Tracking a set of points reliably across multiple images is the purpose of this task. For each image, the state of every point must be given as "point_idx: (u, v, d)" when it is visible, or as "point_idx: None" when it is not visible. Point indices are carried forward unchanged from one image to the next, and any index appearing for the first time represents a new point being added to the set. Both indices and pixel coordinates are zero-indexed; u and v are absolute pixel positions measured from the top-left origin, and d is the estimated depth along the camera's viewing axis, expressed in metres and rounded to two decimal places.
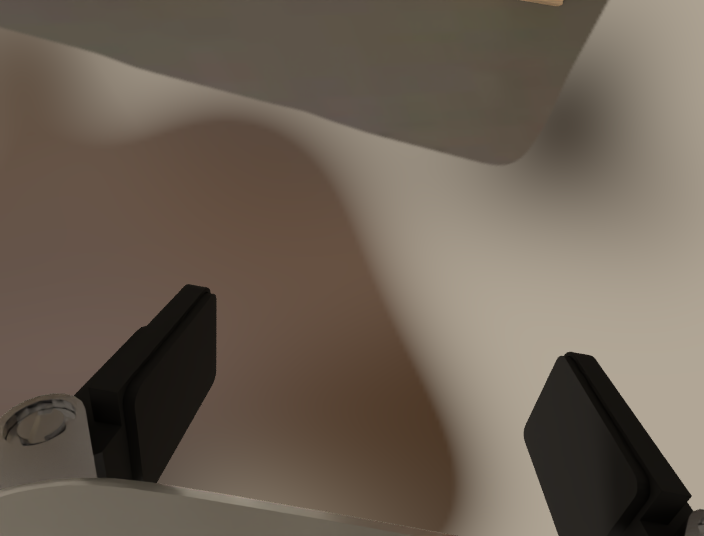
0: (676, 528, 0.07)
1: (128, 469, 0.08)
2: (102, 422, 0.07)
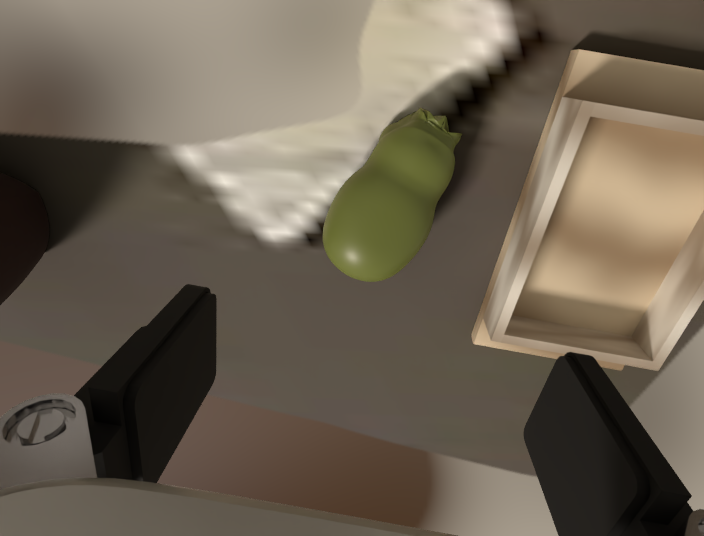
0: (676, 528, 0.07)
1: (128, 469, 0.08)
2: (102, 422, 0.07)
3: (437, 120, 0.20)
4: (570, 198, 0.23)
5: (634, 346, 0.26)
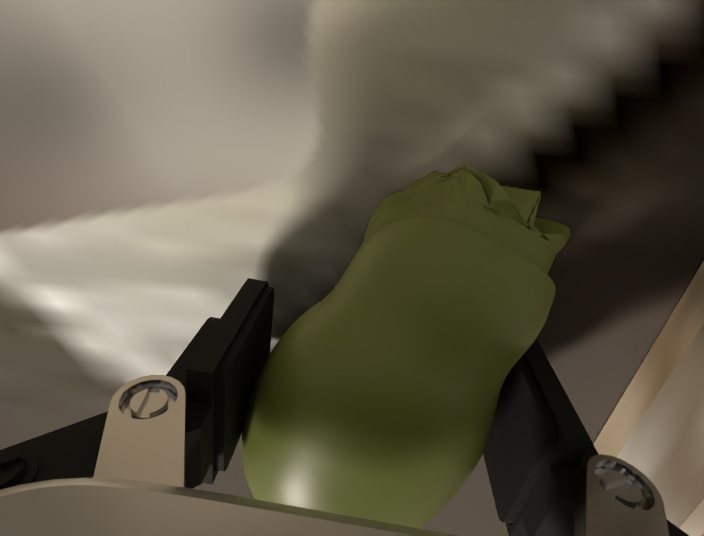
0: (582, 472, 0.08)
1: (213, 446, 0.08)
2: (194, 401, 0.08)
3: (517, 204, 0.08)
4: None
5: None
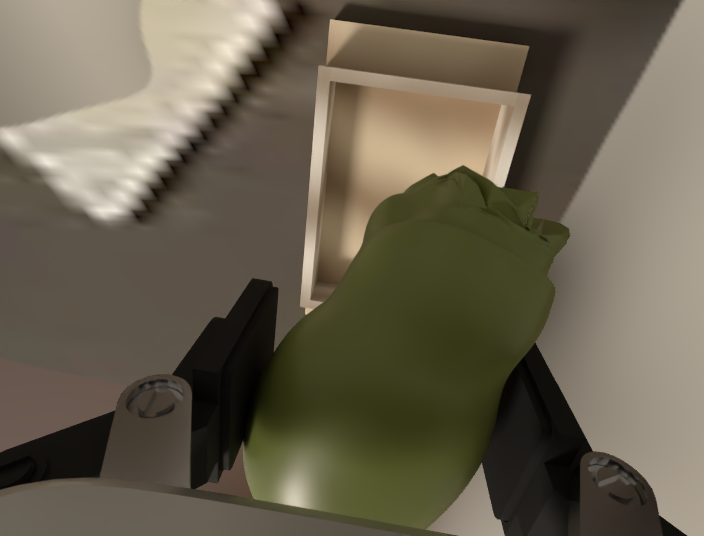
0: None
1: (218, 445, 0.09)
2: (200, 401, 0.08)
3: (515, 205, 0.08)
4: (358, 165, 0.24)
5: None
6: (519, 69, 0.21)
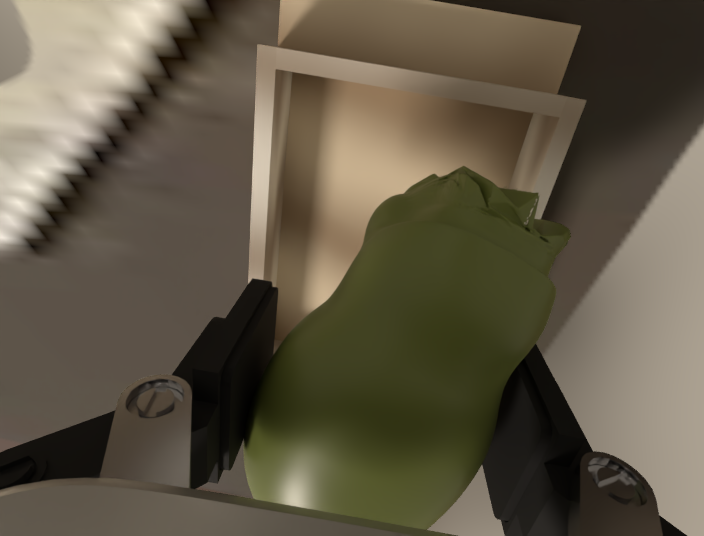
0: None
1: (218, 445, 0.09)
2: (200, 401, 0.08)
3: (516, 206, 0.08)
4: (326, 191, 0.17)
5: None
6: (563, 60, 0.14)
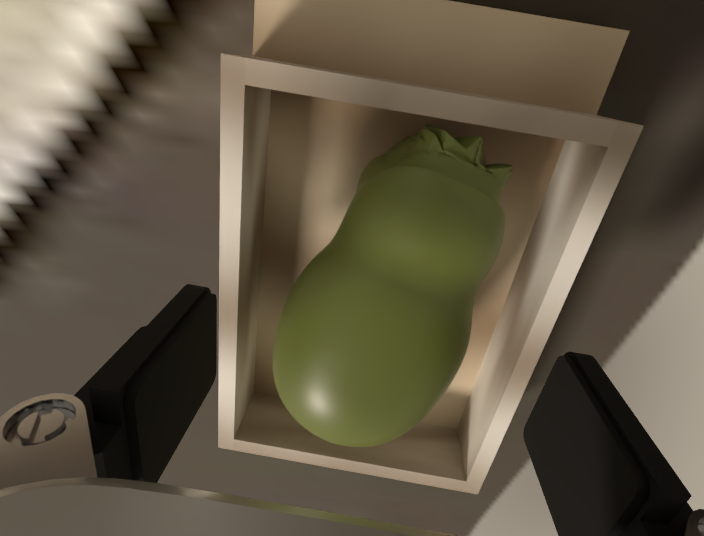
0: (676, 528, 0.07)
1: (128, 469, 0.08)
2: (102, 422, 0.07)
3: (464, 147, 0.10)
4: (314, 227, 0.14)
5: (451, 450, 0.17)
6: (606, 74, 0.11)
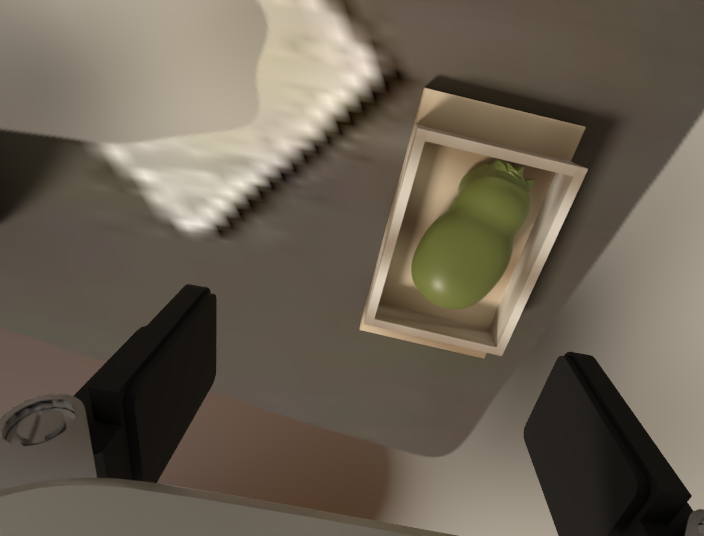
0: (676, 528, 0.07)
1: (128, 469, 0.08)
2: (102, 422, 0.07)
3: (516, 170, 0.24)
4: (428, 207, 0.28)
5: (487, 335, 0.30)
6: (575, 144, 0.26)
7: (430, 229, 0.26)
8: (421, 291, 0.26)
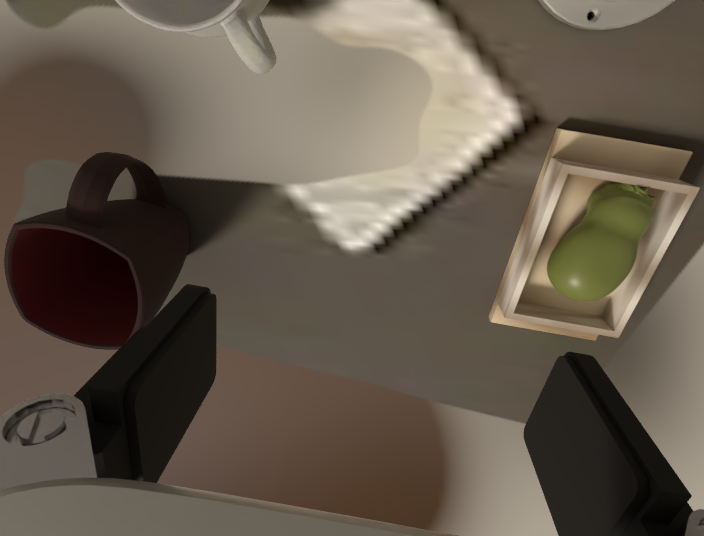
0: (676, 528, 0.07)
1: (128, 469, 0.08)
2: (102, 422, 0.07)
3: (643, 191, 0.30)
4: (557, 221, 0.35)
5: (602, 322, 0.37)
6: (683, 165, 0.32)
7: (568, 239, 0.32)
8: (561, 288, 0.33)
